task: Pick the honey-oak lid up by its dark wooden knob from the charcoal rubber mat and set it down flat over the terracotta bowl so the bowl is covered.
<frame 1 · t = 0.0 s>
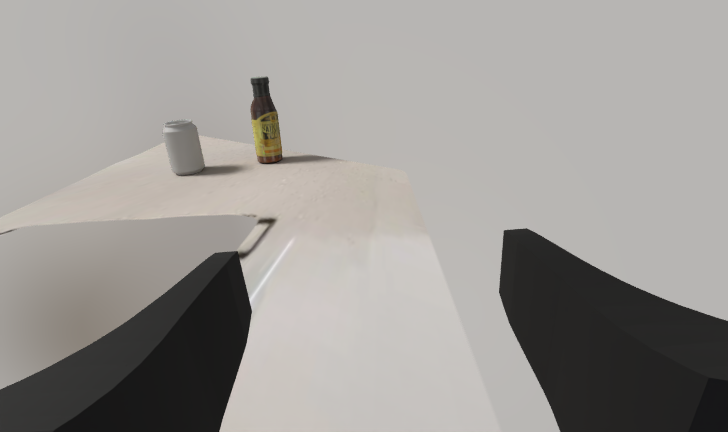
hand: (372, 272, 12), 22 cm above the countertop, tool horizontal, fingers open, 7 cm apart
sauce bottle: (271, 161, 111), on the countertop
can: (189, 172, 108), on the countertop
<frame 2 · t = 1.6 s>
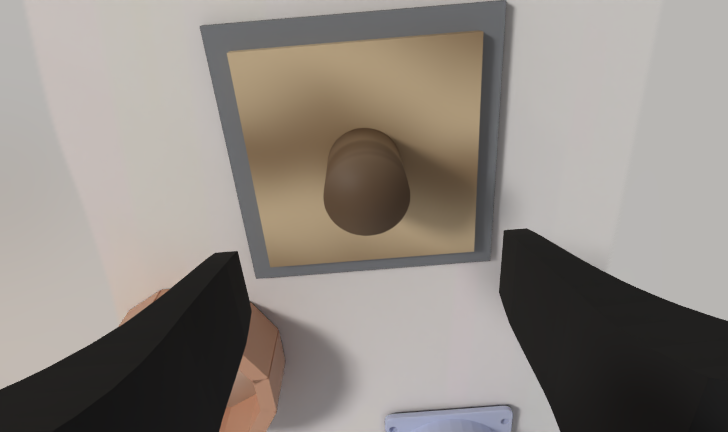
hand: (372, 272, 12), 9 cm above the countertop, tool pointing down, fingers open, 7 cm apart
lid: (363, 158, 20), resting on mat
bowl: (203, 351, 26), on the countertop
mat: (363, 155, 21), on the countertop
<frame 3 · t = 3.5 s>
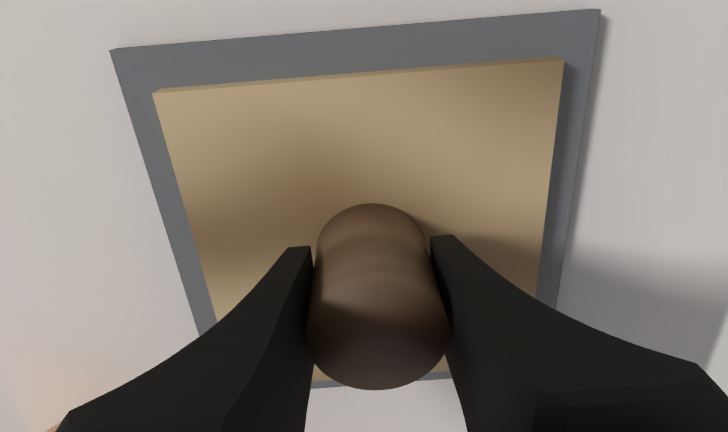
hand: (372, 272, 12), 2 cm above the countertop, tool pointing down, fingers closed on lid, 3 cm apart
lid: (370, 242, 14), resting on mat, touching gripper
mat: (369, 235, 14), on the countertop
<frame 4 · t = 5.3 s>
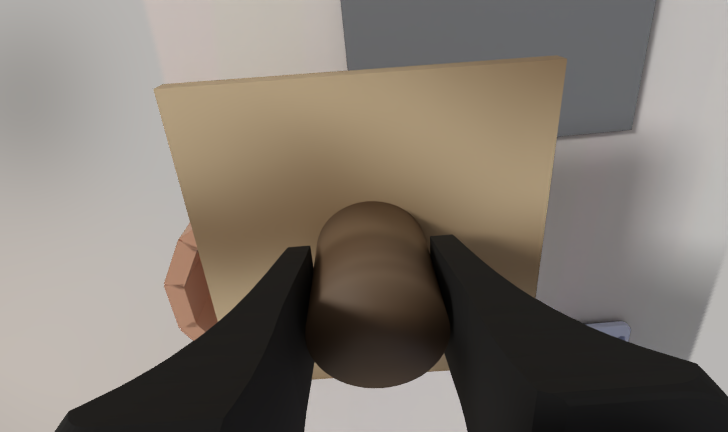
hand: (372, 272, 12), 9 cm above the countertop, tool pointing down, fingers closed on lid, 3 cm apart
lid: (370, 240, 14), point 7 cm above the countertop, touching gripper
bowl: (285, 254, 22), on the countertop
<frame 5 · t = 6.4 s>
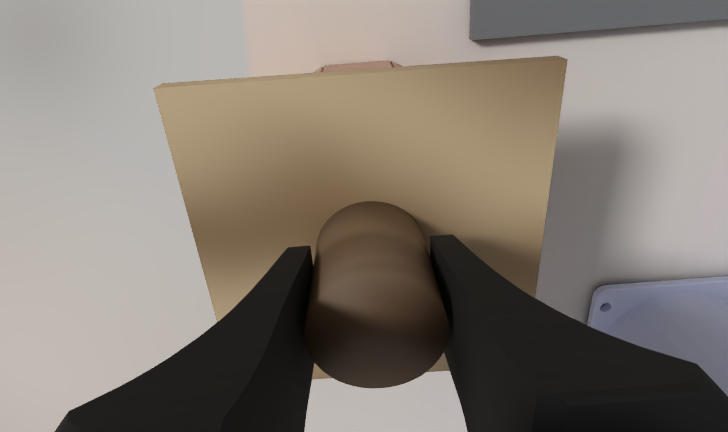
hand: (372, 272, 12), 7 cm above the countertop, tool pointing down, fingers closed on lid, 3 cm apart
lid: (370, 240, 14), point 5 cm above the countertop, touching gripper
bowl: (366, 179, 18), on the countertop
when the fingers open (6 cm above the countertop, at t = 7.1 s): lid drops 1 cm, resting on bowl.
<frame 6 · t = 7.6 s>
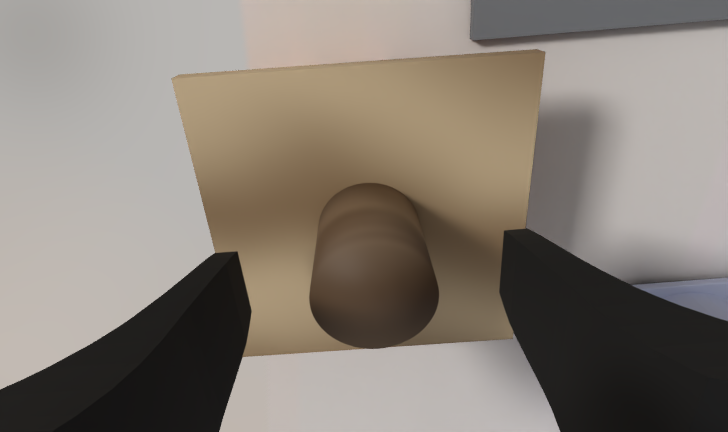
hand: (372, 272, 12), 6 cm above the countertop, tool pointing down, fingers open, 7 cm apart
lid: (368, 220, 15), point 3 cm above the countertop, touching bowl
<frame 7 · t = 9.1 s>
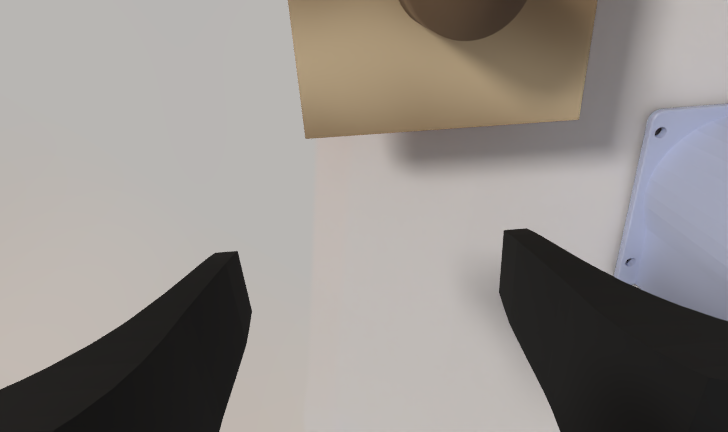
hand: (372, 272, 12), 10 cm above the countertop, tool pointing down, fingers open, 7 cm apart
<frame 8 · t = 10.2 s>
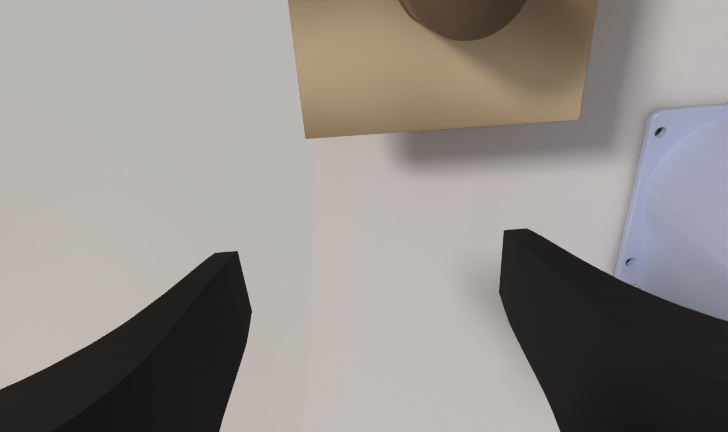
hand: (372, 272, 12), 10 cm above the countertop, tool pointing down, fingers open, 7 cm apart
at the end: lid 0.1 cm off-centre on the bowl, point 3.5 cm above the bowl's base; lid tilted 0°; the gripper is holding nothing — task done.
